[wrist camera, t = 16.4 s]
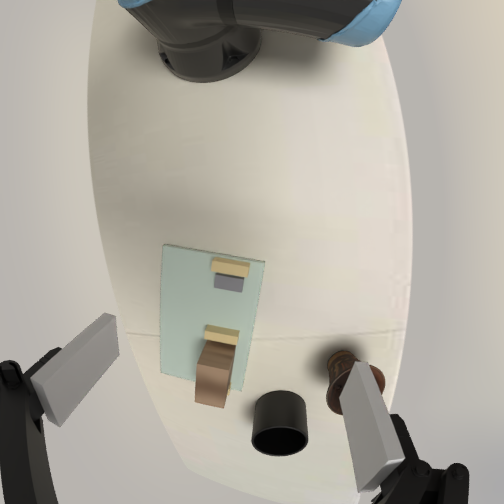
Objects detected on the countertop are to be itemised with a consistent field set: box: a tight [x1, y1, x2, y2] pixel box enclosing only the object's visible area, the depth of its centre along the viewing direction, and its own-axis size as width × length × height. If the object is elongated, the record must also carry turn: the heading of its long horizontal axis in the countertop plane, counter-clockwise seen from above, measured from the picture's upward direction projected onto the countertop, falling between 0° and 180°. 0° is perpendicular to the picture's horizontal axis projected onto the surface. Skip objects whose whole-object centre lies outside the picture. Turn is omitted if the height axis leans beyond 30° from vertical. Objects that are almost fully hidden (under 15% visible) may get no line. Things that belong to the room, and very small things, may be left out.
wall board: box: [160, 244, 265, 395], centre depth 42 cm, size 24×15×3 cm, turn 171°
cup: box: [326, 351, 385, 415], centre depth 38 cm, size 9×9×10 cm
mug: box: [251, 391, 308, 456], centre depth 43 cm, size 9×12×9 cm
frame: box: [195, 340, 236, 408], centre depth 40 cm, size 8×5×8 cm, turn 171°
